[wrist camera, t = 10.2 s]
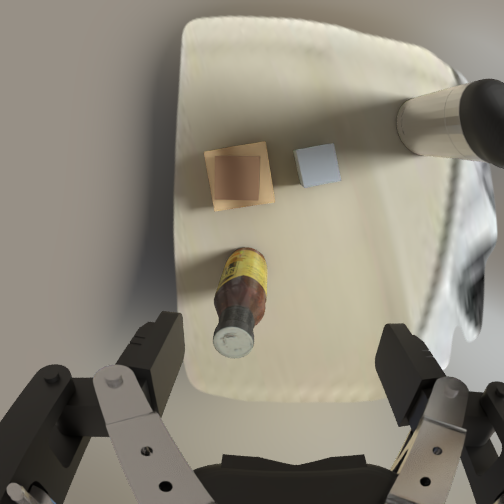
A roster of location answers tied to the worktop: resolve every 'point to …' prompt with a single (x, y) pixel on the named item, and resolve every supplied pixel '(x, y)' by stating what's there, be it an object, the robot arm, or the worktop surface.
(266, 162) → the oak block
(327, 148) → the slate-blue cube
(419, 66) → the worktop surface
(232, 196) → the walnut cube
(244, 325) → the sauce bottle
